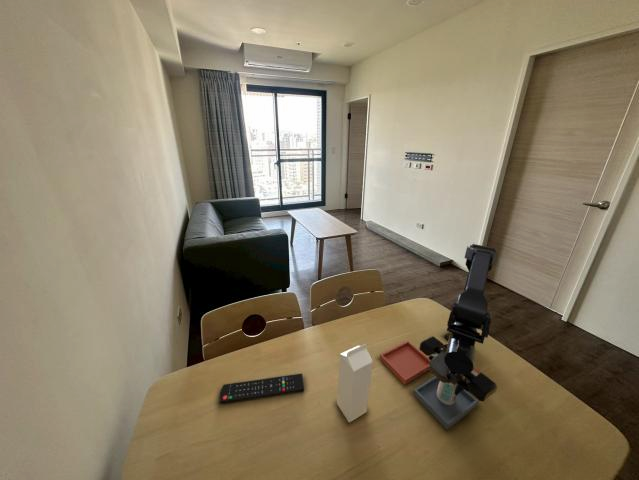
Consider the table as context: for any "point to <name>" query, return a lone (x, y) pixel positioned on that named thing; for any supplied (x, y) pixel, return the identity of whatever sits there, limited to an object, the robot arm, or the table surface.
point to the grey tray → (440, 410)
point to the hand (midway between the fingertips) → (448, 386)
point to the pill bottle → (447, 392)
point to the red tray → (405, 362)
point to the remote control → (261, 388)
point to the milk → (354, 382)
